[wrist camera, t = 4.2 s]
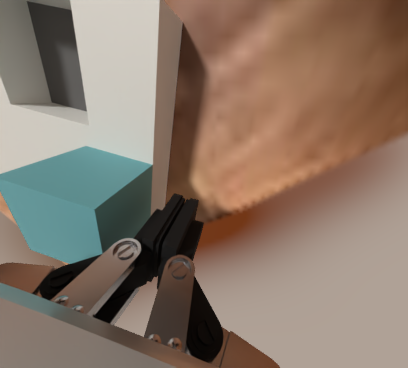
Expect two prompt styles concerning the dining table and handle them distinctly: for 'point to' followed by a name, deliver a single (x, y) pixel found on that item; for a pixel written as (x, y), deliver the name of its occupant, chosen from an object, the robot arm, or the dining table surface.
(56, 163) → the block
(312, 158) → the dining table surface
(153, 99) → the white board with holes
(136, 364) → the robot arm
